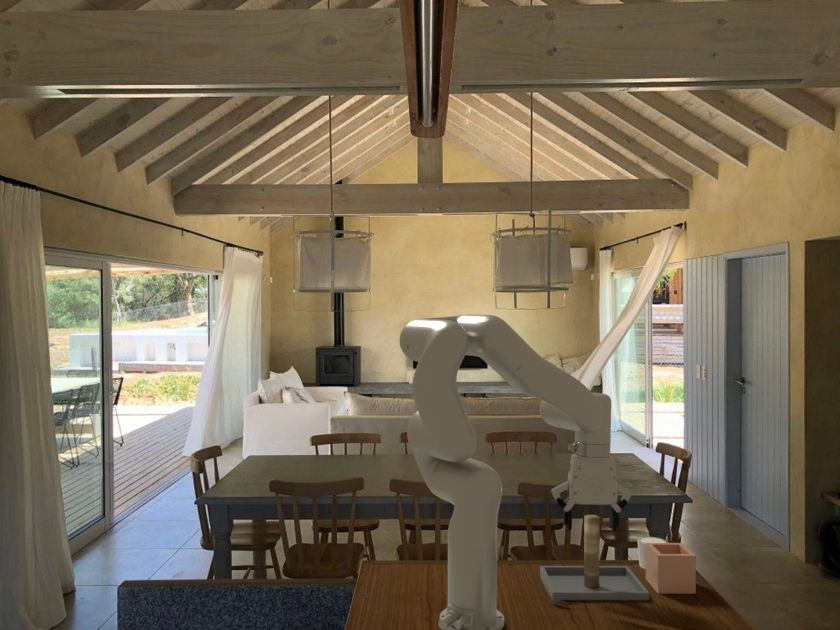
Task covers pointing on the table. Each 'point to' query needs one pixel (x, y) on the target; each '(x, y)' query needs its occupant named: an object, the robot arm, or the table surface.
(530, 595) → the table surface
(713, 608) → the table surface
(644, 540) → the cream short cylinder
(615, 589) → the tray
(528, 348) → the robot arm
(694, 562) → the holder
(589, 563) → the dowel
